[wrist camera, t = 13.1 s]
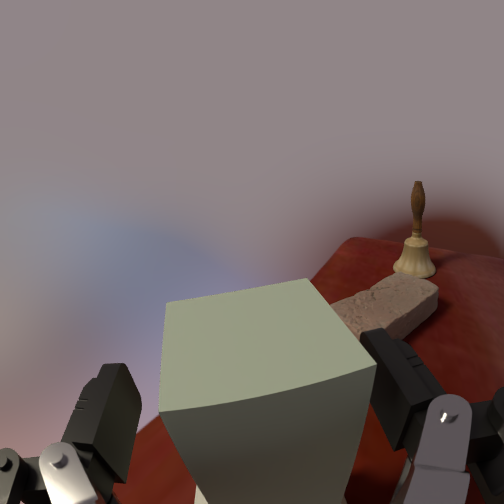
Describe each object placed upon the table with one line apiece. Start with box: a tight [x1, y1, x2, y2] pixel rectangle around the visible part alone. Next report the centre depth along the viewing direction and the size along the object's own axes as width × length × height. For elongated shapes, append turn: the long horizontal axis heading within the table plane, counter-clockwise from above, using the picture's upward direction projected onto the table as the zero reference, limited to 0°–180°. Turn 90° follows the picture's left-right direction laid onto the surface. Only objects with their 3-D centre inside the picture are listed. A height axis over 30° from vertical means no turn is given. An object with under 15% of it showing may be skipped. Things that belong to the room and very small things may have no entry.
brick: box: [330, 272, 439, 341], centre depth 38 cm, size 17×8×5 cm, turn 120°
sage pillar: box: [158, 278, 377, 504], centre depth 10 cm, size 5×5×10 cm
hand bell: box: [393, 181, 436, 279], centre depth 49 cm, size 8×8×16 cm
